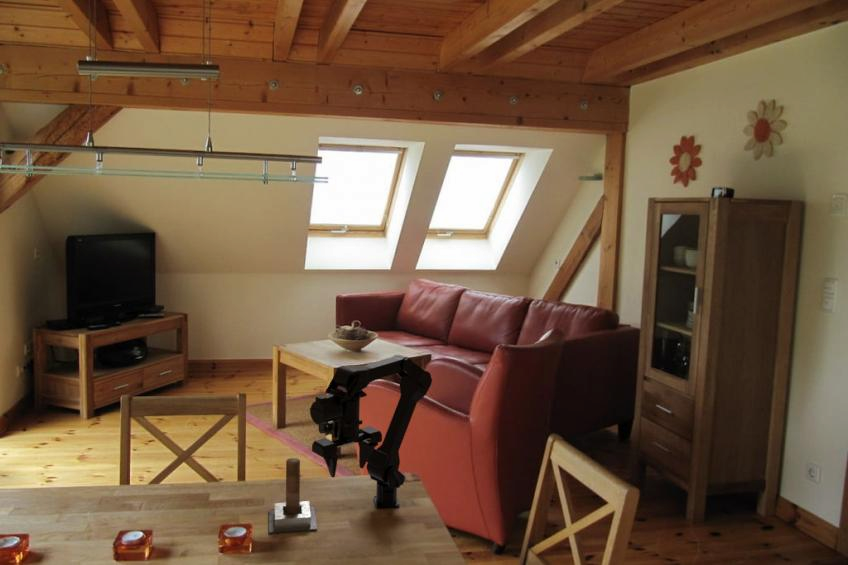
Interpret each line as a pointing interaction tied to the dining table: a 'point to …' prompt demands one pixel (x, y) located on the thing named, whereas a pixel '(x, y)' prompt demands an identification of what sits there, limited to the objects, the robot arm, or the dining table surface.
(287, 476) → the walnut peg
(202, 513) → the dining table surface
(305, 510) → the steel socket
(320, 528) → the dining table surface
